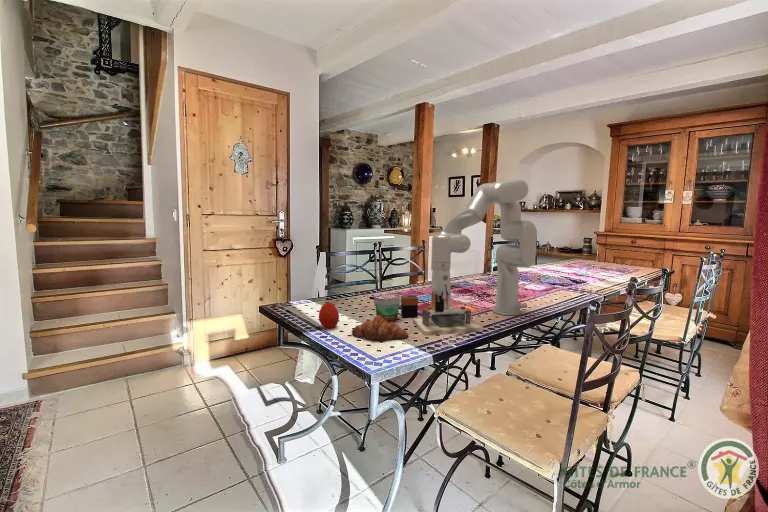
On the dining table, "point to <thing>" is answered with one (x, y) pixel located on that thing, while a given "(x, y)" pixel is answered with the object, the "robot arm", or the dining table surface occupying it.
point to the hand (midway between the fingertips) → (439, 310)
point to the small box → (446, 302)
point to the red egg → (328, 316)
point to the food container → (388, 308)
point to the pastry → (379, 330)
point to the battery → (409, 306)
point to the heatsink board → (446, 323)
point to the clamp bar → (448, 311)
